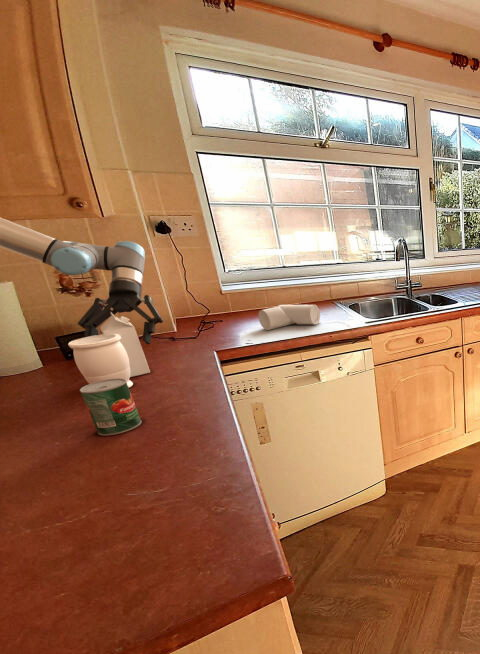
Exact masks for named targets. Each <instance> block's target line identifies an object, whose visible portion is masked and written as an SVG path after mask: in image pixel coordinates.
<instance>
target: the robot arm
mask: <svg viewBox="0 0 480 654" xmlns="http://www.w3.org/2000/svg"><path fill="white" fill-rule="evenodd" d="M0 248H1V249H4V250H6V251H9V252H11V253H15V254H18V255H21V256H23V257H26V258H29V259H32V260H34V261H37V262H39V263H43V264H45V265H47V266H51V267H53V268H54V269H55V270H57V271H58V272H59V273H62V274H64V275H68V276H78V275H84V274H87V273H88V272H90V271H92V270H99V271H100V270H102V271H108V272H109V271H111V274H110V278H109V279H110V280H109V287H108V297H107V299H101V298H99V297H96V298H95V299H94V301H93V304H92V305H91V306H90V307H89V309H88V310H87V311H86V312H85V313H84V314H83V316H82V317H81V318H80V319H79V321H77V325H78V326H80V327H81V328H82V329H84V338H85V337H89V336H95V335H99V334H98V333H99V330H98V329H97V328H99V326H101V325H103V324H104V323H105V322H106V321H107V320H108V319H109V318H110V317H111V316H112V315H111V313H110V312H112V313H113V315H114V316H115V315H116V314H118V313H119V314H121V313H131V312H133V311H135V312H136V313H137V314H139V316H141V317H142V318H143V319H144V320H145V321H144V323H143V333H142V341H143V342H144V343H145V344H146V345H151V341H152V335H153V334H155V332H156V325H157V324H163V323H164V319H163V318H162V316H161V315H160V313H159V311H158V310H157V308H156V307H155V306H154V302H153V301H154V300H153V299H152V298H151V297H150V296H149V295H148V294H145V295H144V296H143V297H142V292H143V291H142V290H143V281H144V271H145V264H146V251H145V249H144V247H143V246H142V245H140V244H138V243H137V242H134V241H130V240H123V241H122V240H120V241H117V242H116V243H115V244H114V246H105V245H99V244H90V243H84V242H78V241H67V240H66V241H65V240H63V241H62V240H60V239H57V238H55V237H52V236H50V235H47V234H44V233H42V232H39V231H38V230H34V229H32V228H29V227H27V226H23V225H21V224H19V223H16V222H13V221H11V220H8V219H6V218H3V217H1V216H0ZM142 303H143V304H144V305H146V307H147V308H148V310H149V311H150V313H151V314H152V316H153V318H152V317H151V316H150V315H148V313H146V312H145V311H143V309H141V308H140V307H139V306H140V305H141V304H142Z"/></svg>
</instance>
